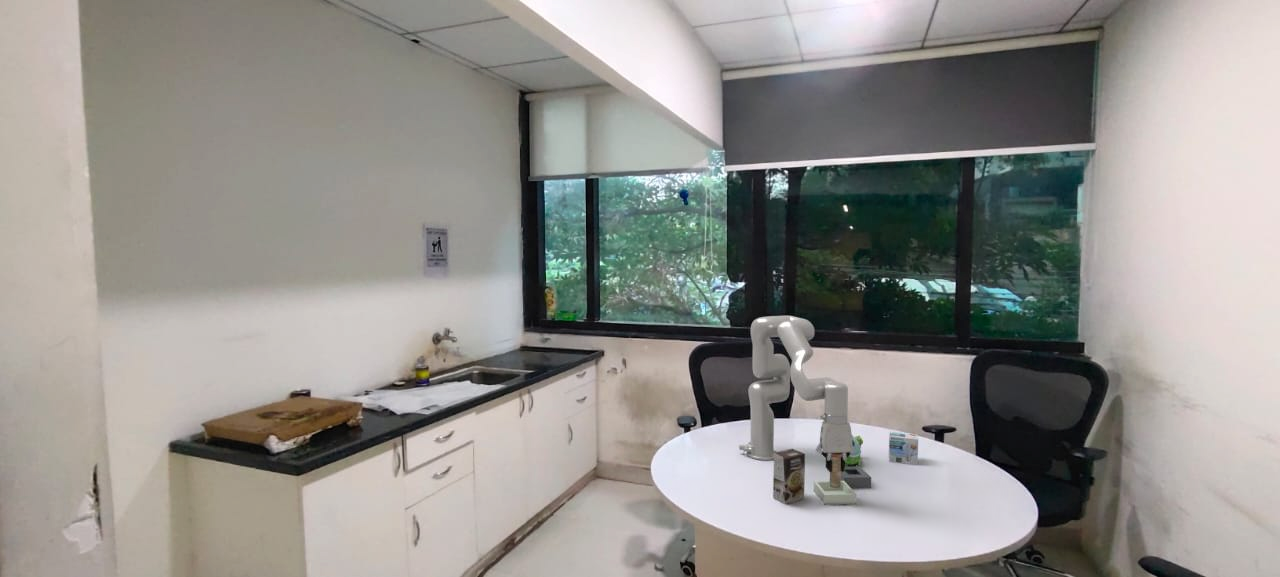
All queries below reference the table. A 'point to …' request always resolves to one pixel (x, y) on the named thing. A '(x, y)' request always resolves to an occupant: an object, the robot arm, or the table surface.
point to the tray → (834, 493)
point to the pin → (835, 470)
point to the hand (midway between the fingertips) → (835, 469)
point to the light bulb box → (903, 448)
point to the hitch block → (856, 477)
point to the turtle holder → (855, 456)
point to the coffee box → (789, 475)
